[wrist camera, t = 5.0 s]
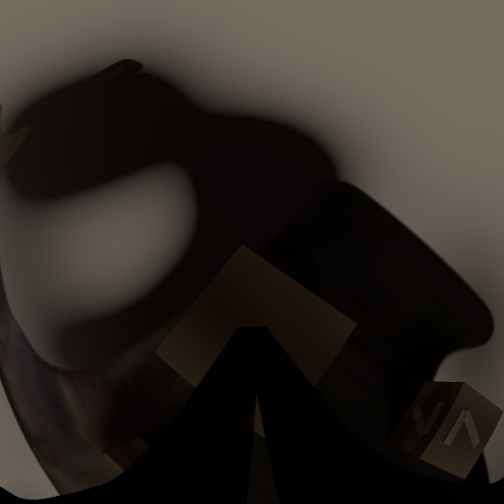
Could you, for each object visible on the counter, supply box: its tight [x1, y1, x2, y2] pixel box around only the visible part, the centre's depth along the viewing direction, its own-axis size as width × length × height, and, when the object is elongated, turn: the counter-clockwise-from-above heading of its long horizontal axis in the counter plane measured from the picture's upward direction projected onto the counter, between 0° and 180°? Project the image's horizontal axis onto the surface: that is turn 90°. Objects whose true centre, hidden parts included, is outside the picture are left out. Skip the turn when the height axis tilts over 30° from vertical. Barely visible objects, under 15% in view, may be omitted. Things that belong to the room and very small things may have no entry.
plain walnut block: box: [155, 244, 357, 438], centre depth 15 cm, size 6×6×8 cm
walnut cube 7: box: [388, 381, 503, 479], centre depth 13 cm, size 5×5×5 cm
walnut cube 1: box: [73, 436, 150, 492], centre depth 12 cm, size 5×5×5 cm
